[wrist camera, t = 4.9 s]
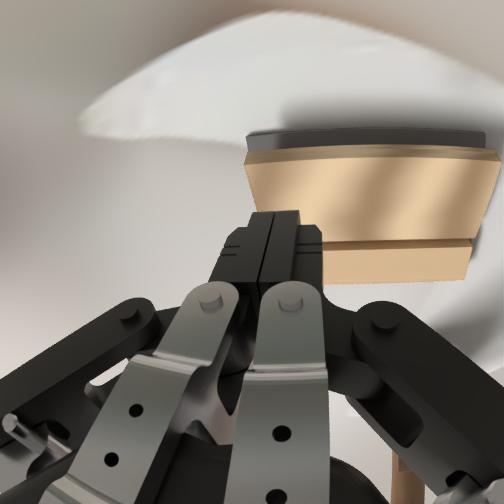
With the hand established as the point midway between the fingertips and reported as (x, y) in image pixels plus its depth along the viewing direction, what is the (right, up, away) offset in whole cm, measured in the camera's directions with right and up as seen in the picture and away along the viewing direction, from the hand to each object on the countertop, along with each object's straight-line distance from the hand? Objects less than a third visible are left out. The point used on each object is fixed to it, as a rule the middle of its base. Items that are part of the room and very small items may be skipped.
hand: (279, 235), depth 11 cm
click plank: (+7, +3, +9) cm, 12 cm away
